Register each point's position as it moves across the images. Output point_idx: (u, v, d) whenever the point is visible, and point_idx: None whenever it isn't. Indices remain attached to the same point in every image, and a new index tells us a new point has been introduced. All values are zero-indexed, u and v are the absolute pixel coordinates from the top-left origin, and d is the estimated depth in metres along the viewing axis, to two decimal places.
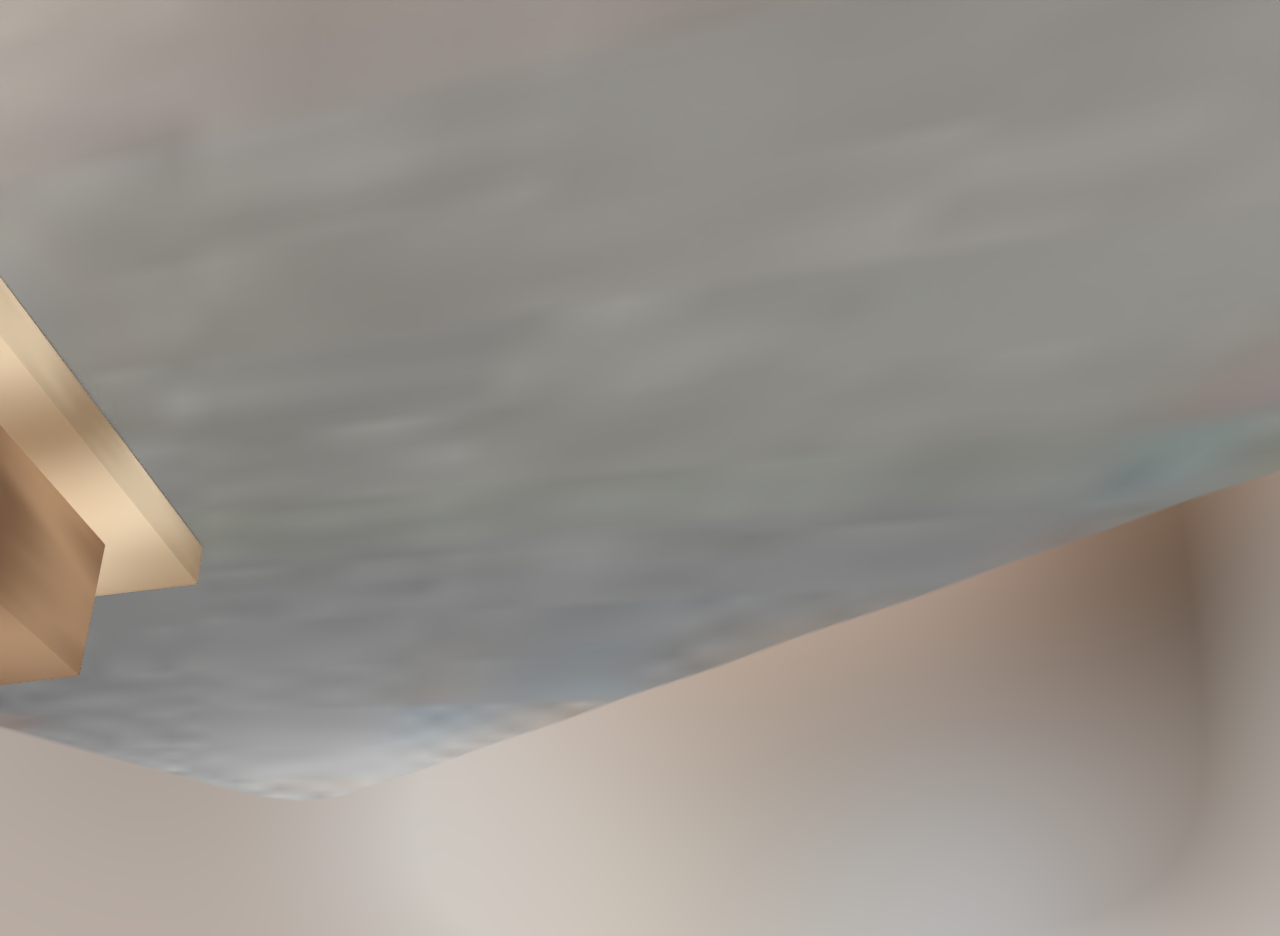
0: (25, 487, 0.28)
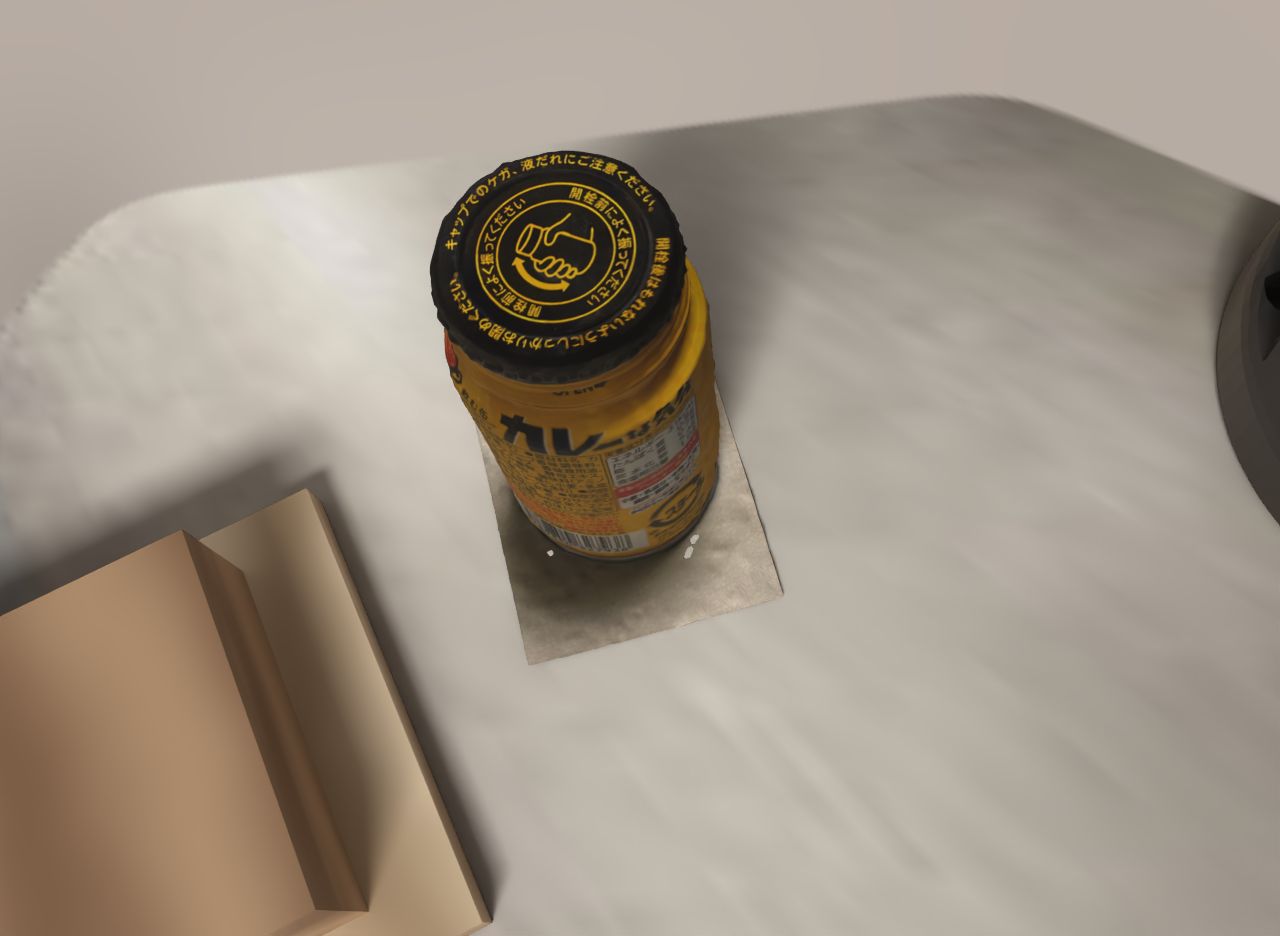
0: None
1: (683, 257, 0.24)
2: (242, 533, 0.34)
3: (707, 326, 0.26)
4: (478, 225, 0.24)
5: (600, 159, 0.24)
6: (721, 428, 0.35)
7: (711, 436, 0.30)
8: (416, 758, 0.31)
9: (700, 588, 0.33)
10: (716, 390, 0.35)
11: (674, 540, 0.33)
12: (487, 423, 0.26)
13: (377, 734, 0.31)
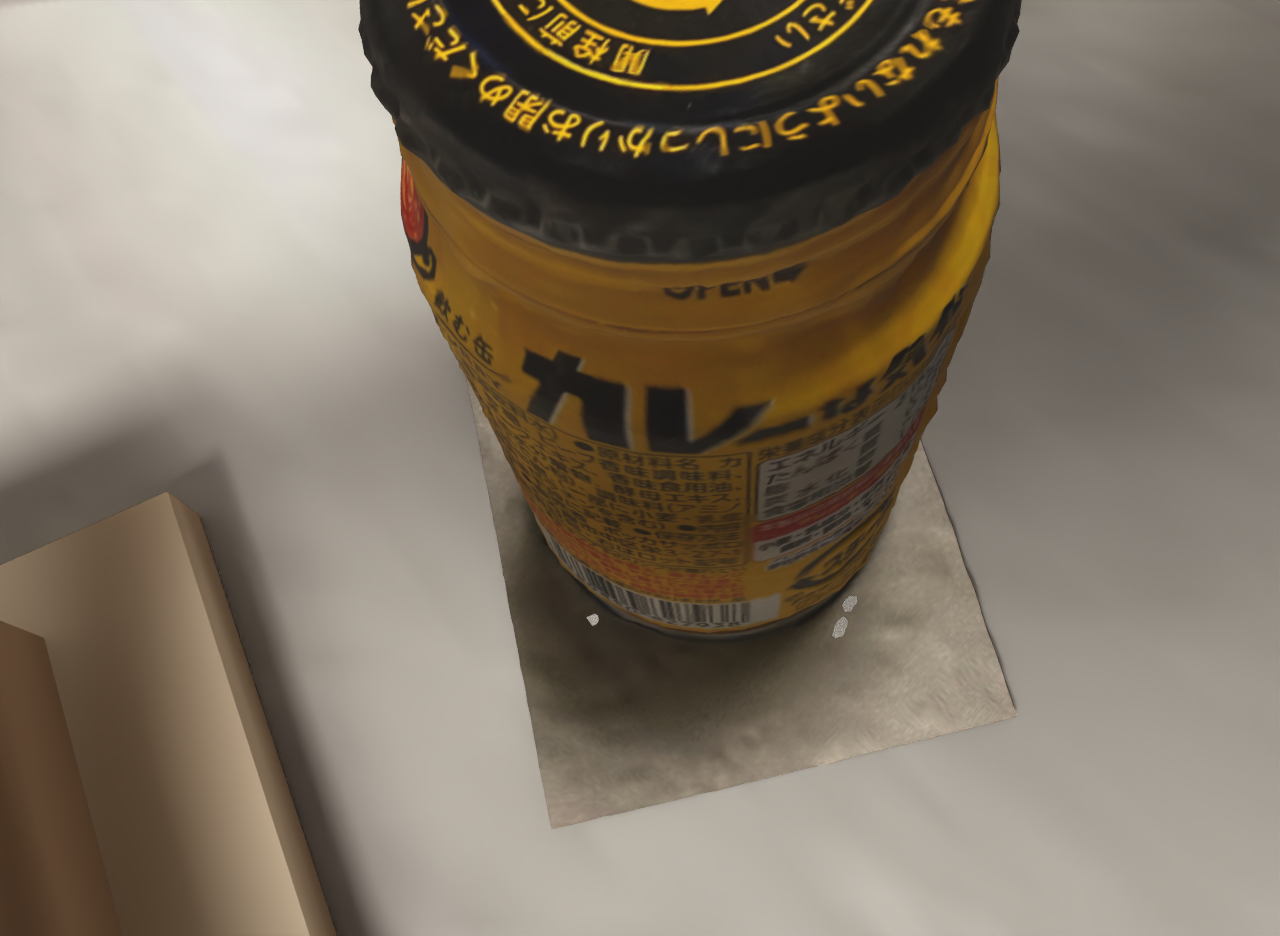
0: None
1: None
2: (49, 569, 0.19)
3: (999, 168, 0.11)
4: None
5: None
6: None
7: (927, 421, 0.15)
8: None
9: (864, 694, 0.18)
10: None
11: (816, 605, 0.19)
12: (491, 372, 0.11)
13: None
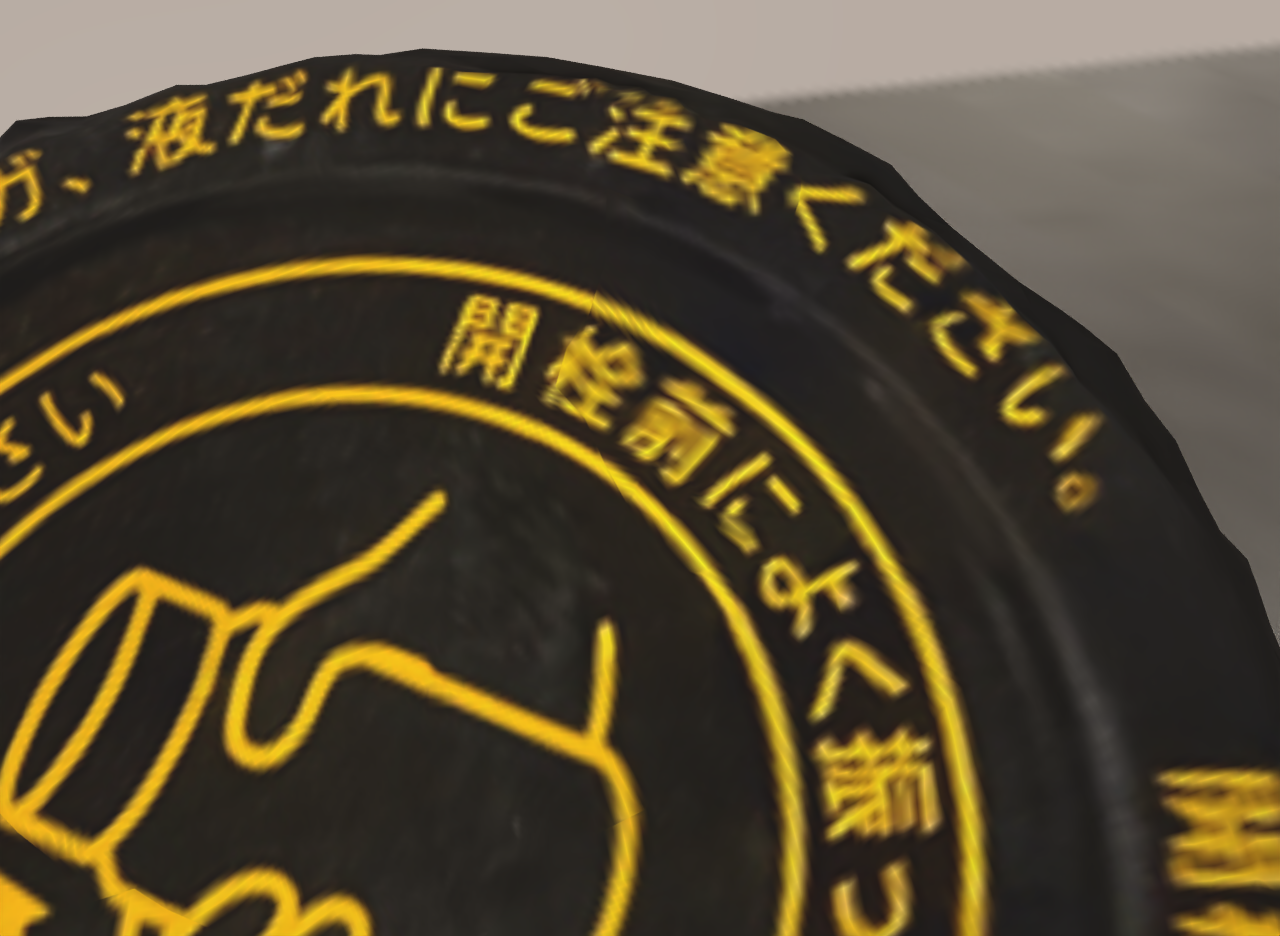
0: None
1: None
2: None
3: None
4: None
5: (666, 103, 0.04)
6: None
7: None
8: None
9: None
10: None
11: None
12: None
13: None
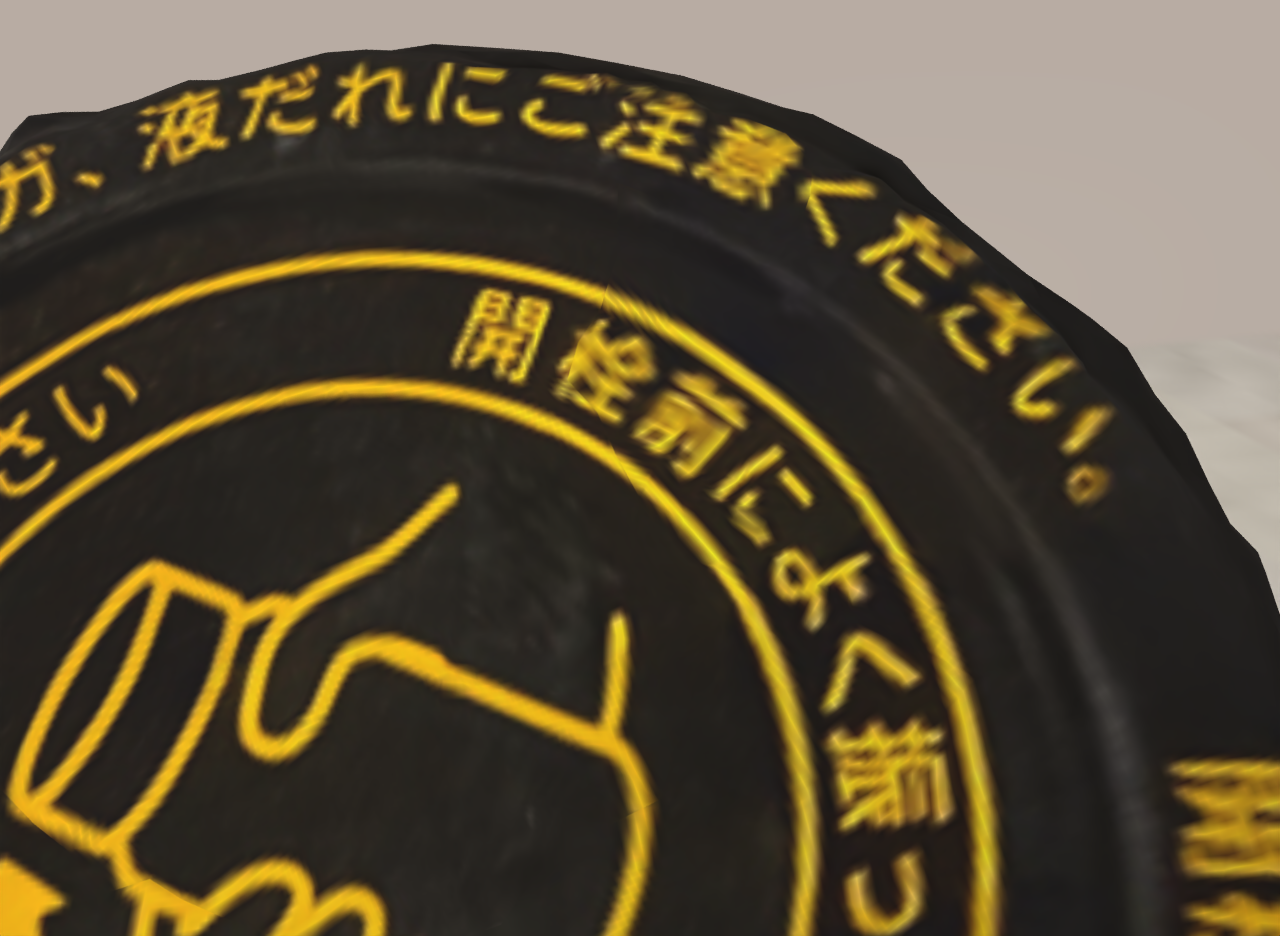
0: None
1: None
2: None
3: None
4: None
5: (677, 98, 0.04)
6: None
7: None
8: None
9: None
10: None
11: None
12: None
13: None
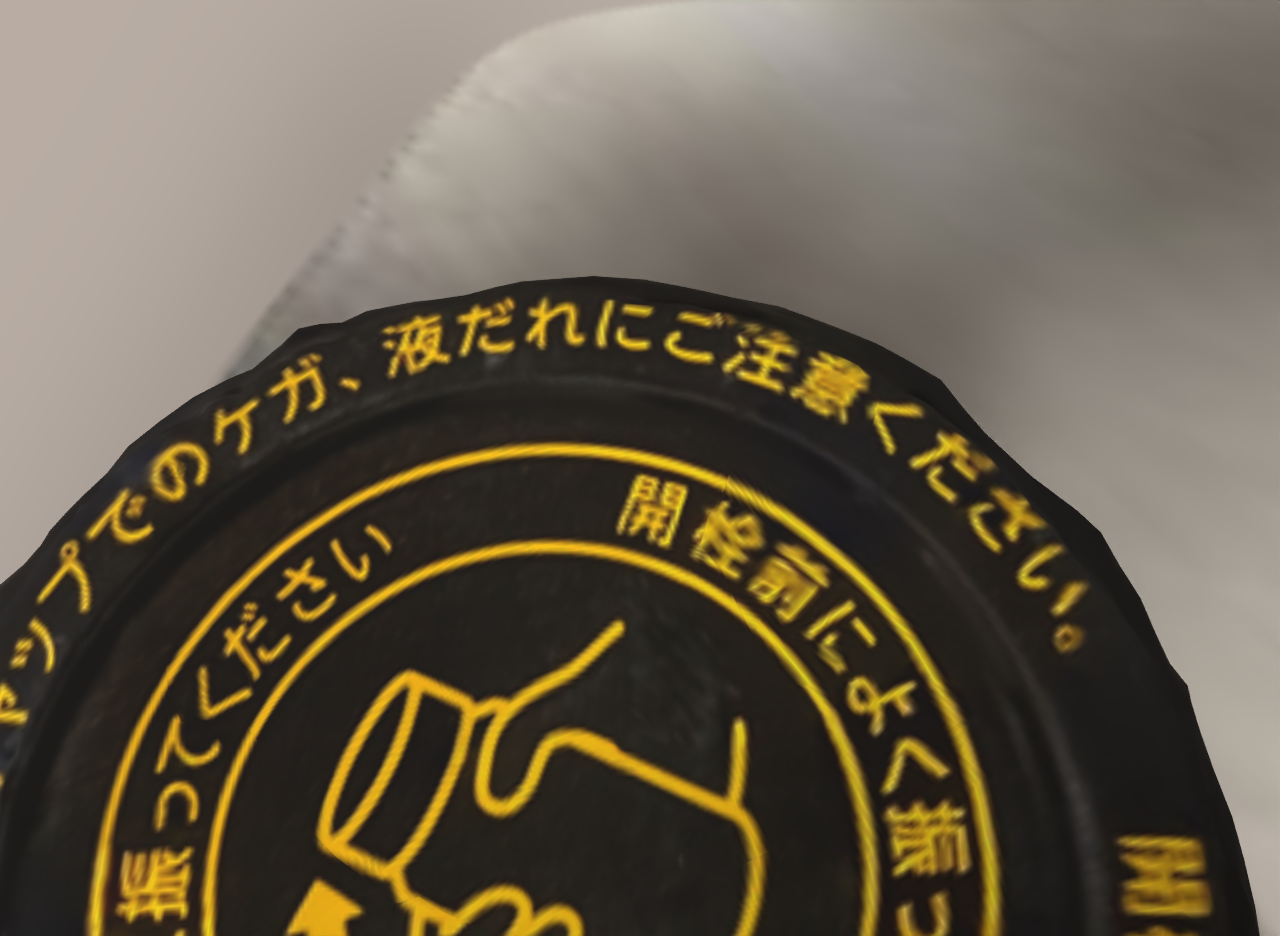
0: None
1: None
2: None
3: None
4: (134, 670, 0.05)
5: (778, 334, 0.05)
6: None
7: None
8: None
9: None
10: None
11: None
12: None
13: None
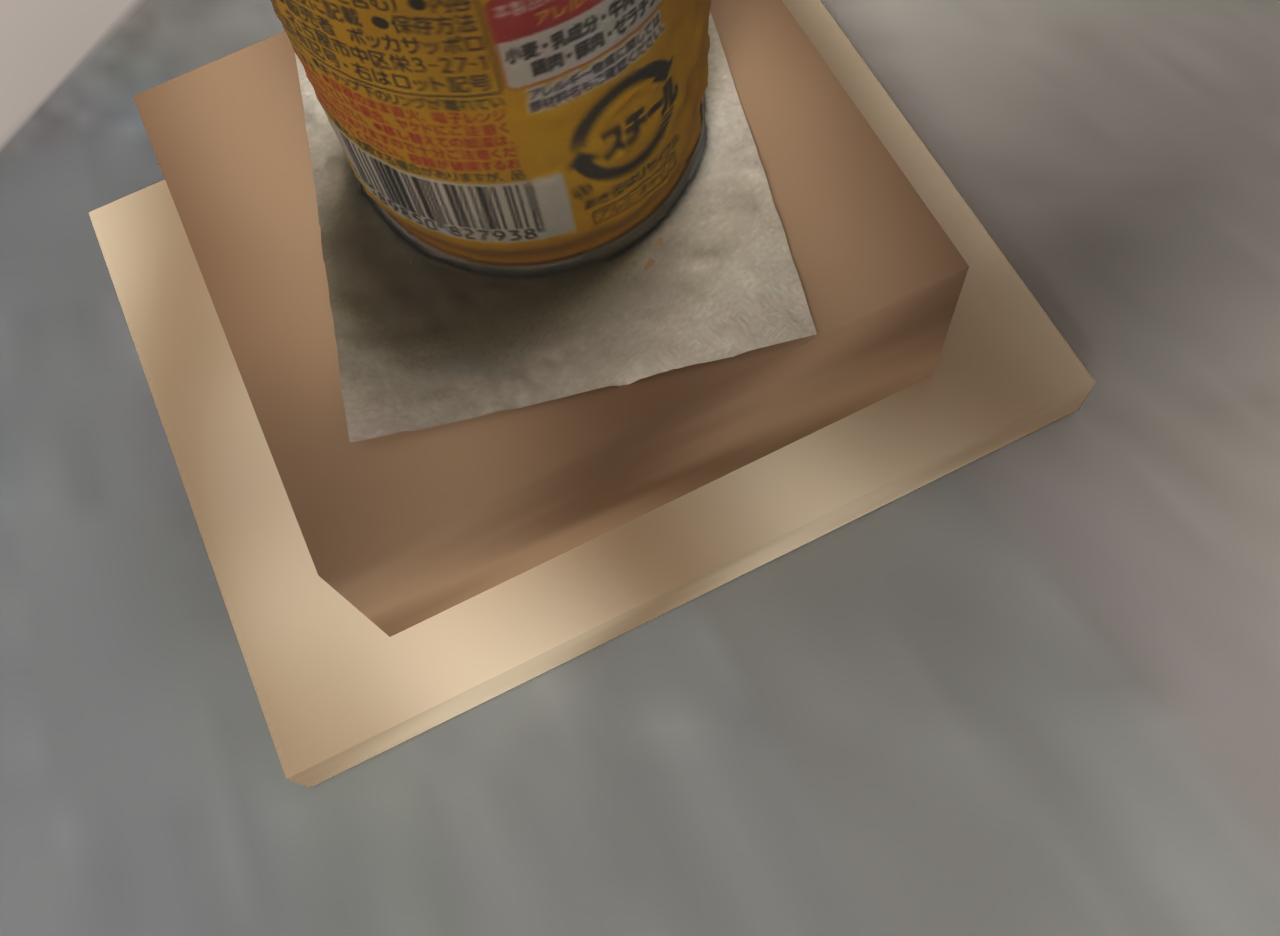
0: (581, 528, 0.21)
1: None
2: None
3: None
4: None
5: None
6: (713, 70, 0.20)
7: None
8: None
9: (667, 319, 0.18)
10: None
11: (624, 242, 0.19)
12: None
13: (908, 177, 0.24)
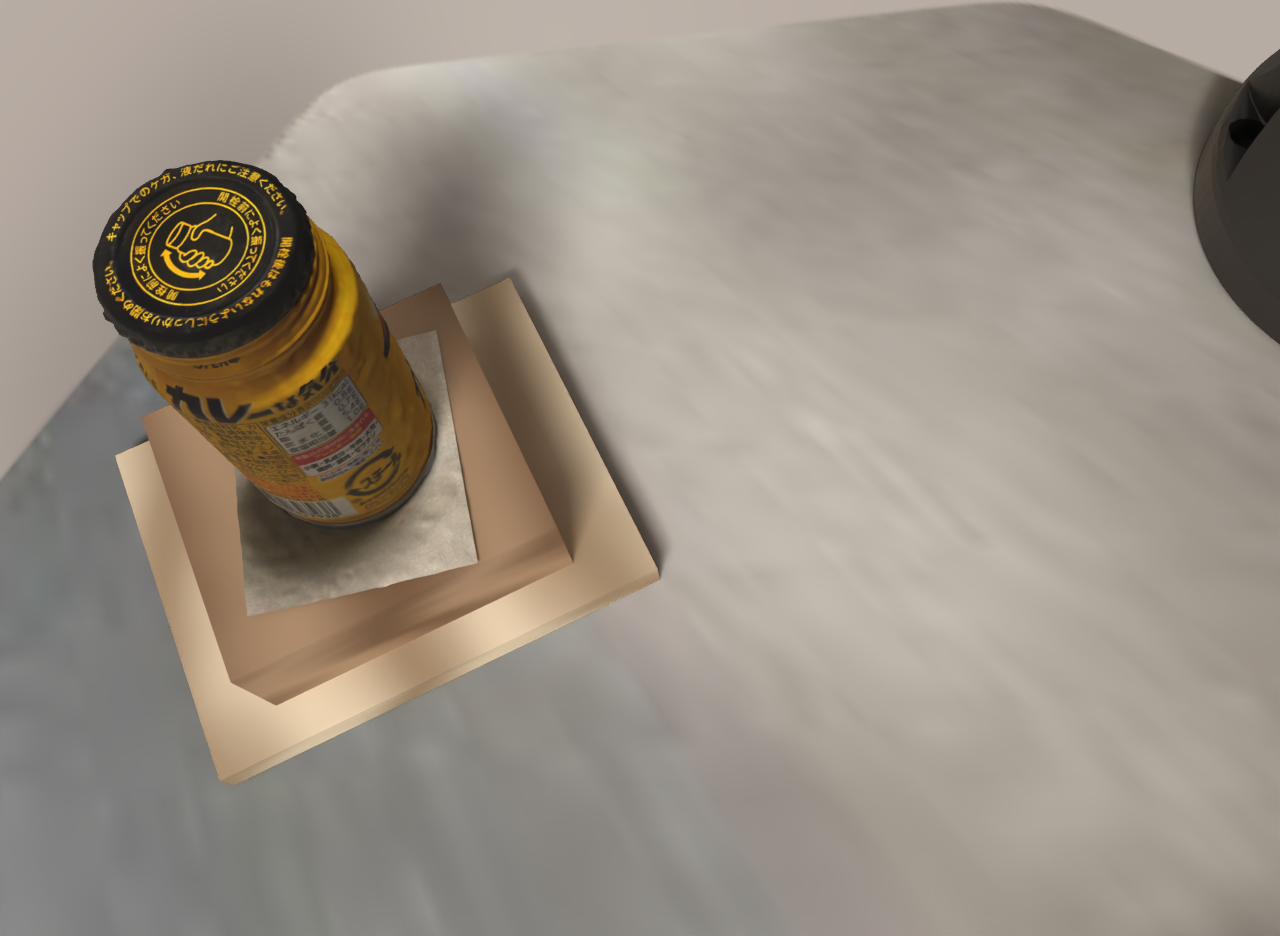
0: (376, 649, 0.39)
1: (309, 254, 0.28)
2: (462, 309, 0.45)
3: (356, 316, 0.30)
4: (137, 221, 0.28)
5: (247, 168, 0.28)
6: (443, 413, 0.39)
7: (396, 415, 0.34)
8: (603, 462, 0.42)
9: (406, 553, 0.37)
10: (443, 379, 0.39)
11: (389, 511, 0.38)
12: (159, 392, 0.30)
13: (573, 445, 0.42)
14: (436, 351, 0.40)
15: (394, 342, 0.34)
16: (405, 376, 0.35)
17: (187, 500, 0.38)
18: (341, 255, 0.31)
